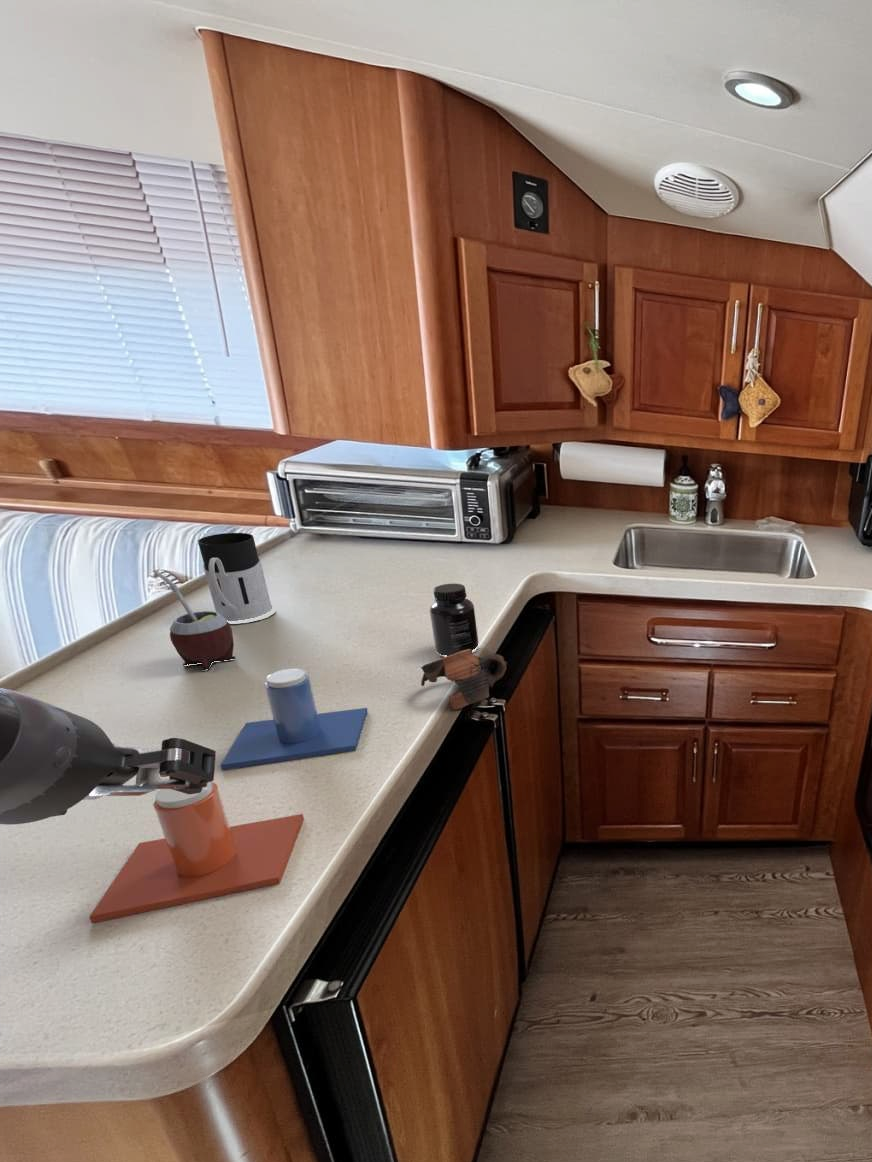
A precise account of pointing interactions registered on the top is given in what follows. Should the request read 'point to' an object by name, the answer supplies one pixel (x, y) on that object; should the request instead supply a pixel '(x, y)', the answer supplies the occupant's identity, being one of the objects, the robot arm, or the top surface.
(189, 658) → the mate gourd
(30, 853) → the top surface
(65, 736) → the robot arm
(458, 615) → the supplement bottle
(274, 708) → the cylinder
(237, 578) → the grey coffee mug
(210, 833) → the cylinder
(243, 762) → the blue mat
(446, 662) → the pottery mug
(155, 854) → the terracotta mat
